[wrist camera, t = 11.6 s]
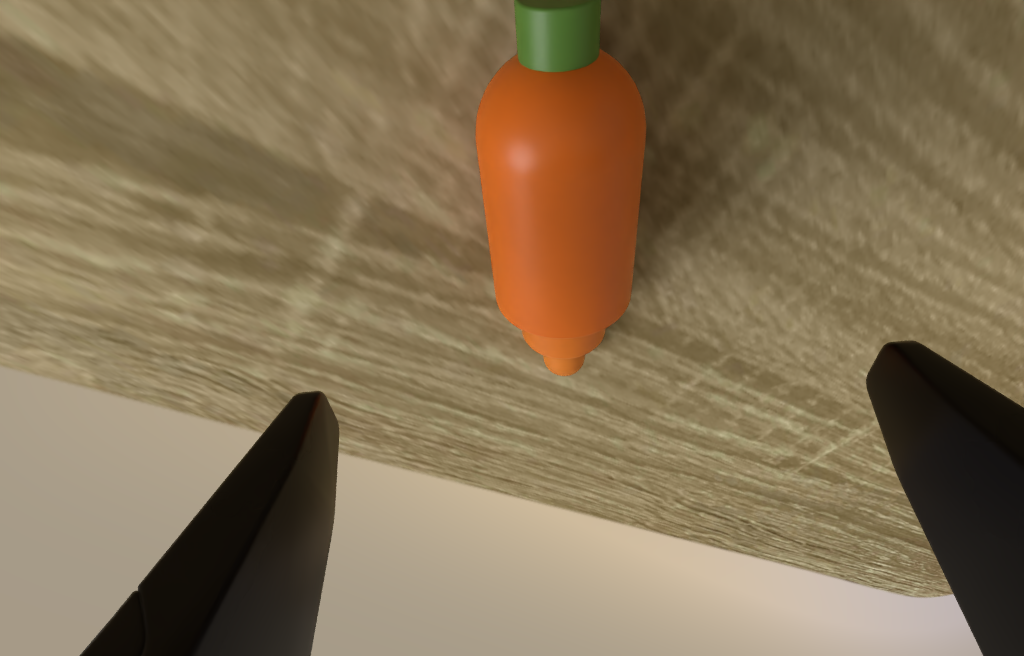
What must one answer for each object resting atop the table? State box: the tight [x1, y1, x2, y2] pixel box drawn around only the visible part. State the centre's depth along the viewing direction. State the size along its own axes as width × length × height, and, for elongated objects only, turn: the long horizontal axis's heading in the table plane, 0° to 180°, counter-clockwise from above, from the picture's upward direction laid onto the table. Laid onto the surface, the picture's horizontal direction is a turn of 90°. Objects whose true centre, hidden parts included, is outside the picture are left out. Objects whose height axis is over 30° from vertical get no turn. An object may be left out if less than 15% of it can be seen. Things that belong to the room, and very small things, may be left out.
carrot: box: [476, 0, 646, 376], centre depth 13 cm, size 10×3×3 cm, turn 4°
